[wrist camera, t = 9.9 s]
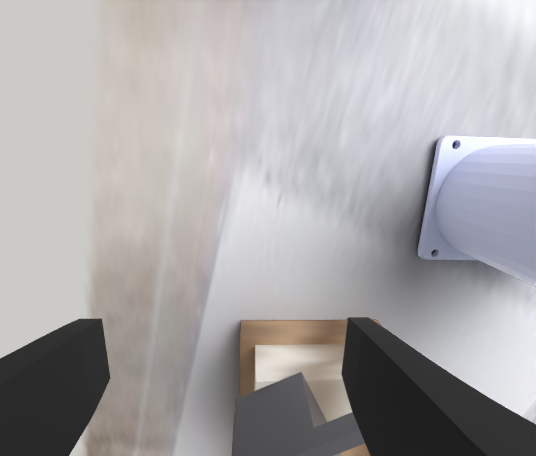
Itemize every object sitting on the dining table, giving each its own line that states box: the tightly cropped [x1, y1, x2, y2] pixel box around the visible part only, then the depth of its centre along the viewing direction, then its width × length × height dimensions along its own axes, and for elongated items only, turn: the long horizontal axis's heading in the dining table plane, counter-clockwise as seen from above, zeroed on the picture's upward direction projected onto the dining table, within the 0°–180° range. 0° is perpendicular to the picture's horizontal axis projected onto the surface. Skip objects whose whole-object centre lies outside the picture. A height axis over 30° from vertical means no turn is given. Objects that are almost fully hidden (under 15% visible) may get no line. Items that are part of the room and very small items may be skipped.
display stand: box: [240, 320, 381, 456], centre depth 18 cm, size 10×15×7 cm, turn 178°
